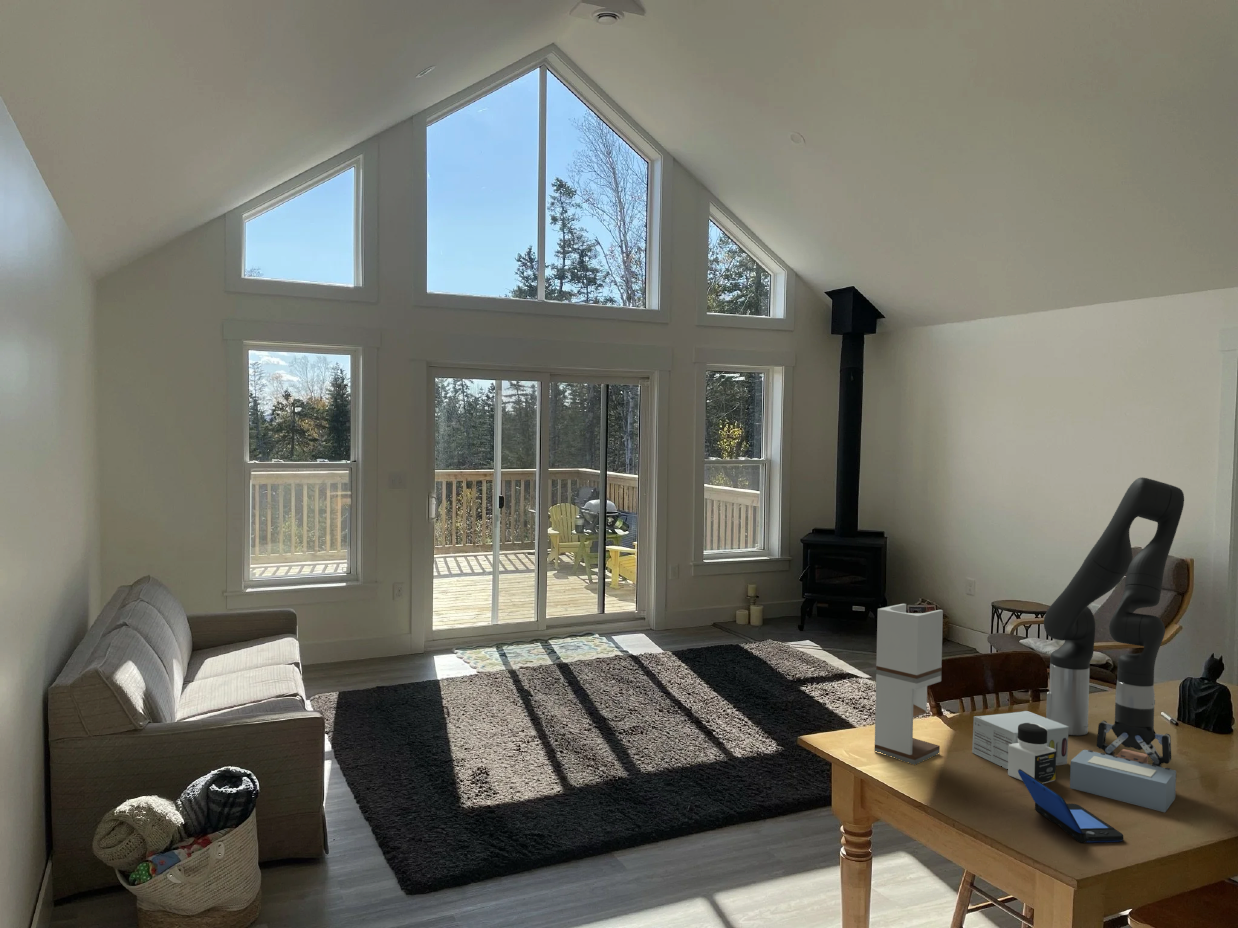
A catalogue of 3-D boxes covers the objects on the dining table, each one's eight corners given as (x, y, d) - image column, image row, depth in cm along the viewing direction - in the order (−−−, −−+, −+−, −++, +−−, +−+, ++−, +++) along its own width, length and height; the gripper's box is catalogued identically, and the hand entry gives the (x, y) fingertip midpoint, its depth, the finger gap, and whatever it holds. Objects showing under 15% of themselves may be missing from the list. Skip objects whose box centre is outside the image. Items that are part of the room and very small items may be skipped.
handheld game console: (1126, 843, 165) (1128, 795, 165) (1060, 845, 164) (1061, 797, 163) (1075, 808, 180) (1077, 764, 180) (1014, 810, 179) (1015, 766, 179)
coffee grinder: (914, 764, 203) (918, 615, 202) (874, 752, 211) (877, 608, 210) (939, 753, 211) (942, 610, 210) (899, 742, 219) (902, 603, 218)
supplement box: (1013, 773, 199) (1014, 732, 199) (971, 753, 212) (972, 715, 212) (1069, 764, 205) (1070, 725, 205) (1025, 746, 218) (1026, 708, 217)
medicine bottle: (1034, 786, 191) (1036, 732, 191) (1007, 775, 198) (1008, 722, 197) (1056, 780, 195) (1057, 727, 194) (1028, 769, 201) (1029, 718, 201)
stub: (1115, 782, 194) (1116, 754, 194) (1122, 774, 199) (1123, 747, 198) (1141, 788, 191) (1141, 760, 191) (1147, 780, 195) (1148, 753, 195)
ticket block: (1069, 787, 191) (1070, 759, 191) (1082, 775, 198) (1083, 748, 198) (1165, 812, 179) (1166, 782, 178) (1175, 798, 186) (1176, 769, 186)
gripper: (1094, 699, 197) (1092, 770, 197) (1168, 713, 187) (1165, 787, 187) (1103, 692, 202) (1101, 761, 203) (1175, 705, 192) (1173, 778, 193)
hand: (1132, 774), depth 195 cm, fingers open, 8 cm apart
